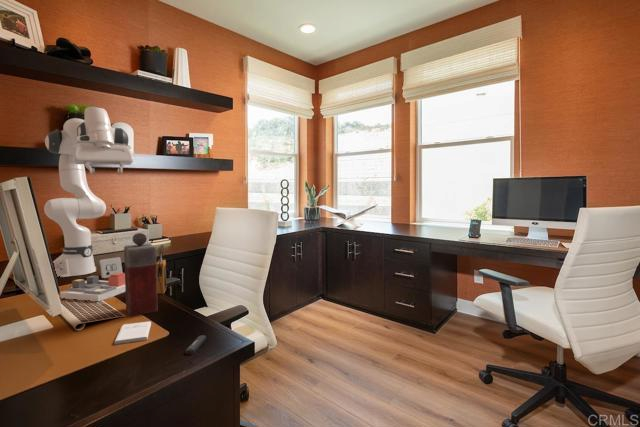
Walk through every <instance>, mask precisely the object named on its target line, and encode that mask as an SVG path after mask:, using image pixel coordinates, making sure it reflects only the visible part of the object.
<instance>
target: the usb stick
mask: <svg viewBox="0 0 640 427" xmlns="http://www.w3.org/2000/svg"><path fill="white" fill-rule="evenodd" d="M206 340H207V336H206V335H203V334H202V335H199V336H198V337H197V338H195V340H193V342H192V343H191V344H190V345H189V346H188V347H187V348H186V349H185V350H184V353H185V355H194V354H195V352H197V350H198V349H199V348H200V347H201V346H202V344H204V342H205V341H206Z"/></svg>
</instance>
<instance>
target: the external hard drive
mask: <svg viewBox="0 0 640 427" xmlns="http://www.w3.org/2000/svg"><path fill="white" fill-rule="evenodd" d="M151 327H152V321H142V322H134V323H125V324H122V326H121V327H120V329H119V331H118V333H117V336H116V337H115V340H114V345H120V344H121V345H122V344H127V343H133V342H140V341H141V342H142V341H147V340H148V338H149V335H150V330H151Z"/></svg>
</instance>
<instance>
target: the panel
mask: <svg viewBox="0 0 640 427" xmlns="http://www.w3.org/2000/svg"><path fill="white" fill-rule="evenodd" d="M123 293H126V290H125V285H122V286H120V287H116V286H109V284H108V280H100V279H99V284H87V282H85V288H84V289H81V288H72V287H67V289H65V290H63V291H60V292H59V296H60V297H61V298H60V297H59V298H60V299H63V298H65V299H64V300H73V299H77V300H76V301H84V300H90V301H89V302H95V301H99V302H101V301H100V300H102V301H104V300H106V299H109V298H112V297H114V296H118V295H120V294H123Z"/></svg>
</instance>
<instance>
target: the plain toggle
mask: <svg viewBox="0 0 640 427" xmlns="http://www.w3.org/2000/svg"><path fill="white" fill-rule="evenodd" d="M99 276H100V275H90V276H86V280H85V282H86V283H87V284H99V280H100V277H99Z"/></svg>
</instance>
